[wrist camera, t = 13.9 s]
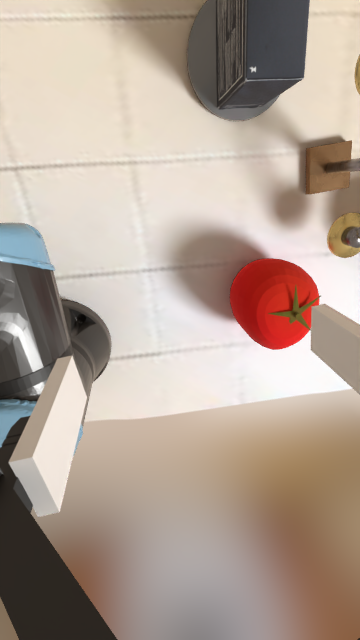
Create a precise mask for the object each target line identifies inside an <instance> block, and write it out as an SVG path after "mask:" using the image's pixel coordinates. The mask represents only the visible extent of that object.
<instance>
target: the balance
mask: <svg viewBox="0 0 360 640" xmlns="http://www.w3.org/2000/svg"><path fill="white" fill-rule="evenodd" d="M355 84H356V88H357V91H358V93H359V94H360V55H359V58H358V60H357V63H356V68H355ZM351 149H352V141H346V142H340V143H334V144H329V145H323V146H317V147H311V148H307V149H306V194H315V193H320V192H326V191H331V190H337V189H342V188H347V187H349V180H350V172H352V171H360V158H358V159H351ZM327 244H328V248H329V250H330V251H331V252H332V253H333V254H334V255H336V256H338V257H342V258H347V257H352V256H354V255H356V254H357V253H359V252H360V213H347V214H344V215H342V216H341V217H339V218H338V219H337V220H336V221H335V222H334V223H333V224H332V226H331V228H330V230H329V232H328V236H327Z"/></svg>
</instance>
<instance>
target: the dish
mask: <svg viewBox="0 0 360 640" xmlns="http://www.w3.org/2000/svg"><path fill="white" fill-rule="evenodd" d="M187 65H188V72H189V77H190V80H191V84H192V86H193V89H194V91H195V93H196V95H197V97H198V98H199V100H200V101H201V102H202V104H203V105H204V106H205V107H206V108H207V109H208V110H209V111H210V112H212V113H213V114H214V115H216V116H218V117H220V118H222V119H225V120H229V121H245V120H249V119H251V118H254V117H256V116H258V115H259V114H261V113H263V112H264V111H265V110H267V109H268V108H269V107H270V106H271V105H272V104H273V103H274V102H275V101H276V99H277V98H278V97H279V95H278V96H277V97H275V98H274V99H272V100H271V101H269V102H268V103H266V104H265V105H264V106H262V107H257V108H231V109H228V108H227V109H223V110H222V109H221V110H219V109H218V108H217V74H216V0H207V1H206V3H205V4H204V5H203V6H202V8H201V9H200V11H199V13H198V15H197V17H196V19H195V21H194V24H193V26H192V29H191V32H190V36H189V41H188V48H187Z"/></svg>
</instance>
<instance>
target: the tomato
mask: <svg viewBox="0 0 360 640" xmlns="http://www.w3.org/2000/svg"><path fill="white" fill-rule="evenodd" d="M319 297H320V296H319V294H318V289H317V286H316V284H315V283H314V281H313V279H312V278H311V277H310V276H309V275H308V274H307V273H306V272H305V271H304V270H303V269H302V268H301V267H299V266H297V265H295V264H293V263H290V262H288V261H285V260H281V259H259V260H256V261H253V262H251V263H249V264H247V265H246V266H245V267H243V268H242V269H241V270H240V272H239V273H238V274H237V275H236V277H235V279H234V280H233V283H232V286H231V290H230V304H231V308H232V311H233V315H234V316H235V318H236V320H237V322H238V323H239V324H240V326H241V327H242V328H243V329H244V330H245V332H246V333H247V334H248V335H249V336H250V337H251V338H252V339H253V340H254V341H255V342H257V343H259V344H260V345H262V346H264V347H266V348H270V349H273V350H276V349H283V348H286V347H289V346H291V345H293V344H295V343H297V342H299V341H300V340H301V339H302V338H303V337H304V336H305V335H306V334H307V333H308V331H309V330H311V329H310V328H311V311H312V306H317V305H319Z"/></svg>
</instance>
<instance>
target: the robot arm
mask: <svg viewBox="0 0 360 640" xmlns="http://www.w3.org/2000/svg"><path fill="white" fill-rule="evenodd" d="M53 271H55V268H54V266H53V265H52V264H51V262H50V259H49V256H48V253H47V249H46V246H45V243H44V240H43V237H42V235H41V234H40V233H39V232H38V230H36V229H35V228H34V227H32V226H30V225H28V224H24V223H0V597H1V599H2V601H3V604H4V606H5V608H6V611H7V613H8V615H9V617H10V620H11V622H12V624H13V626H14V629H15V631H16V633H17V636H18V638H19V640H117V639H116V637H115V636H114V634H113V633H112V631H111V630H110V628H109V627H108V626H107V624H106V623H105V621H104V620H103V618H102V617H101V615H100V614H99V612H98V611H97V609H96V608H95V607H94V605H93V604H92V602H91V601H90V599H89V598H88V596H87V595H86V594H85V592H84V591H83V589H82V588H81V586H80V585H79V583H78V582H77V580H76V579H75V578H74V576H73V575H72V573H71V572H70V570H69V569H68V567H67V566H66V565H65V563H64V562H63V560H62V559H61V557H60V556H59V554H58V553H57V551H56V550H55V548H54V547H53V546H52V544H51V543H50V541H49V540H48V539H47V537H46V535H45V534H44V533H43V531H42V530H41V528H40V527H39V525H38V524H37V522H36V521H35V519H34V518H33V516H32V515H31V514H30V513H31V510H32V507H33V508H34V510H35V512H36V514H37V516H38V517H40V516H45V515H49V514H53V513H58V512H60V508H61V504H62V500H63V496H64V492H65V488H66V483H67V479H68V475H69V471H70V467H71V462H72V458H73V456H74V454H75V451H76V449H77V446H78V443H79V441H80V438H81V437H82V433H83V431H82V428H83V423H84V419H85V414H86V410H87V405H88V401H89V396H90V391H91V387H92V383H93V382H94V381H95V380H96V379H97V378H98V377H99V376H100V375H101V374H102V373H103V371H104V370H105V368H106V366H107V364H108V361H109V358H110V352H111V337H110V333H109V331H108V328H107V326H106V325H105V323H104V322H103V320H102V319H101V318H100V317H99V316H98V315H97V314H96V313H95V312H94V311H92V310H91V309H89V308H88V307H86V306H84V305H82V304H79V303H76V302H73V301H68V300H60V296H59V292H58V288H57V284H56V280H55V276H54V272H53ZM311 351H313V352H314V353H315V354H316V355H317V356H318V357H319V358H320V359H321V360H322V361H323V362H325V363H326V364H327V365H328V366H329V367H330V368H331V369H332V370H333V371H334V372H336V373H337V374H338V375H339V376H340V377H341V378H342V379H343V380H344V381H345V382H347V383H348V384H349V385H350V386H351V387H352V388H353V389H354V390H355V391H356V392H357V393H359V394H360V325H359V324H358V323H356V322H354V321H353V320H351V319H349V318H348V317H346V316H344V315H343V314H341V313H339V312H338V311H336V310H334V309H333V308H331V307H329V306H328V305H326V304H322V305H317V306H312V311H311ZM358 640H360V638H359V639H358Z"/></svg>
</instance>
